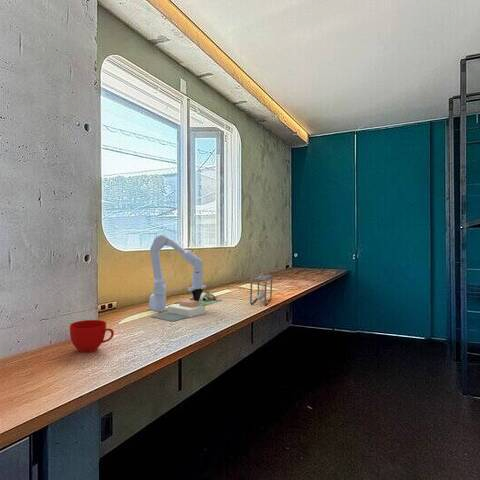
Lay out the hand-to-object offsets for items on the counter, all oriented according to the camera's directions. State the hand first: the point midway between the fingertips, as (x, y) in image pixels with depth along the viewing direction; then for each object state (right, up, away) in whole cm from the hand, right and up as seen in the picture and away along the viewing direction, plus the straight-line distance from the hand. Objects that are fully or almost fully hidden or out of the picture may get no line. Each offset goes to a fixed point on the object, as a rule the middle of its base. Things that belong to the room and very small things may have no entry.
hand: (196, 301), depth 218 cm
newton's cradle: (+40, -6, +35) cm, 53 cm away
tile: (-4, 0, -6) cm, 7 cm away
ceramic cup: (-31, -6, -77) cm, 83 cm away
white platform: (-5, -5, -8) cm, 11 cm away
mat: (-12, -5, -19) cm, 23 cm away
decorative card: (-1, -5, +28) cm, 29 cm away
